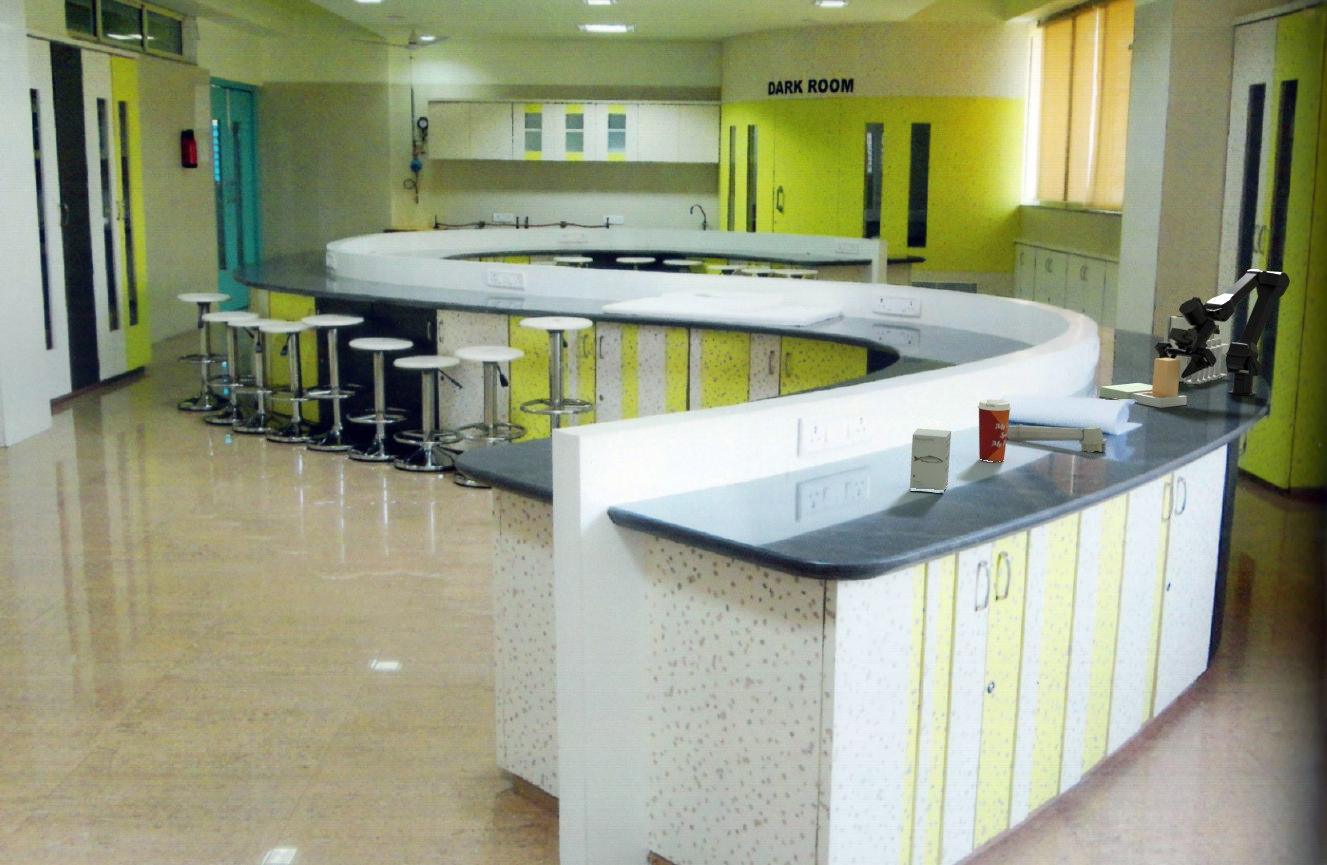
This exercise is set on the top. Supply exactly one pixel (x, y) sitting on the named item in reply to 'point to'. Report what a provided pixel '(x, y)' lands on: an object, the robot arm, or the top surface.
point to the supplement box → (930, 459)
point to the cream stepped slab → (1140, 395)
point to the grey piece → (1060, 435)
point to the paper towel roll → (1180, 324)
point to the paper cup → (993, 429)
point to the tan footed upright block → (1165, 378)
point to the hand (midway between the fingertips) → (1169, 375)
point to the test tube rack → (1210, 372)
